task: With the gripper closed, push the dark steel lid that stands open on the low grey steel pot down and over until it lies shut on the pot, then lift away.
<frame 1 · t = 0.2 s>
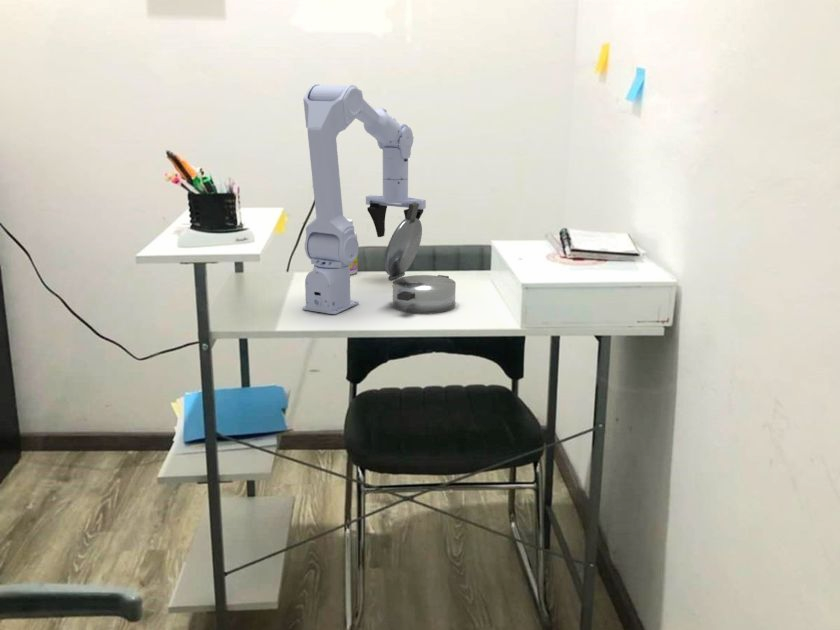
hand: (395, 238, 187), 10 cm above the table, fingers open, 7 cm apart
pot: (423, 304, 169), on the table
lid: (405, 241, 168), point 13 cm above the table, hinge at 75.0°
supplement bottle: (343, 273, 196), on the table
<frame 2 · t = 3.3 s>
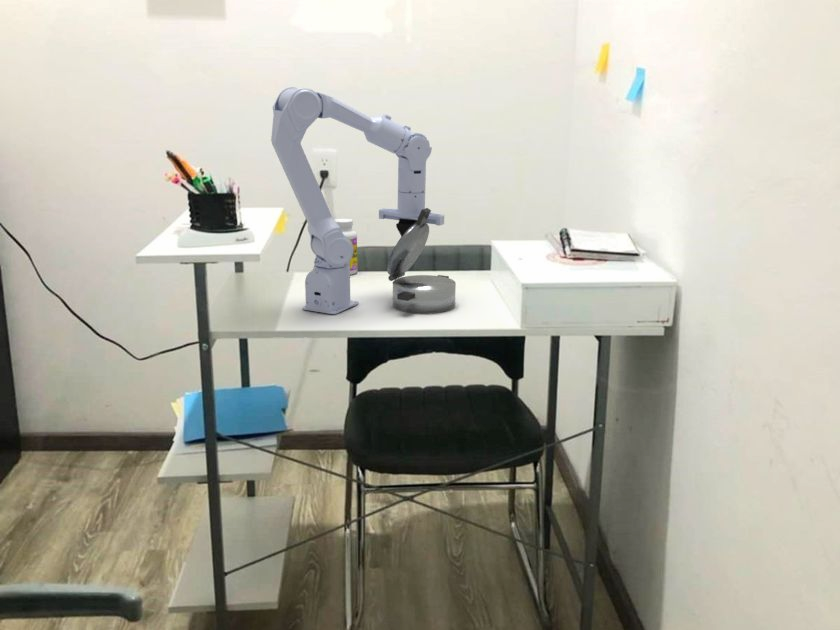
hand: (410, 255, 172), 9 cm above the table, fingers closed, pressing on lid
lid: (410, 244, 167), point 12 cm above the table, hinge at 64.3°, touching gripper
everything else where it was.
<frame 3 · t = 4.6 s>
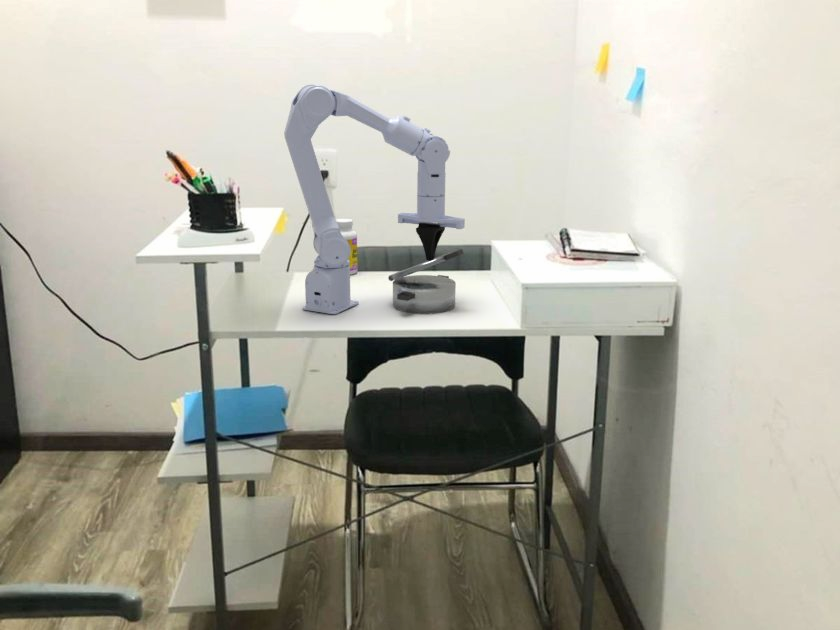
hand: (430, 259, 170), 9 cm above the table, fingers closed, pressing on lid
lid: (426, 264, 167), point 9 cm above the table, hinge at 24.2°, touching gripper
everything else where it was.
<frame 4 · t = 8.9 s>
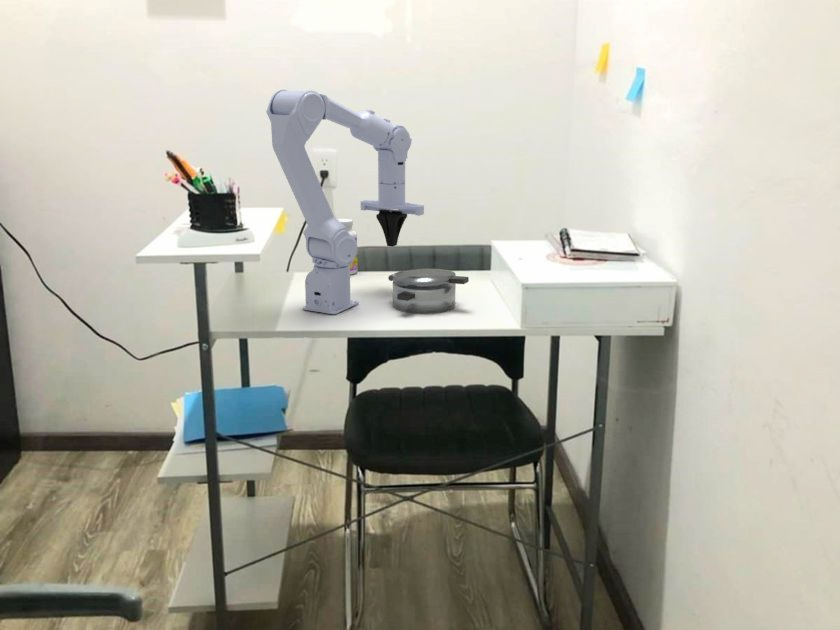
hand: (391, 245, 176), 10 cm above the table, fingers closed
lid: (429, 277, 167), point 6 cm above the table, hinge at 3.2°
everything else where it was.
at the end: lid at +3° (first picture: +75°) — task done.
